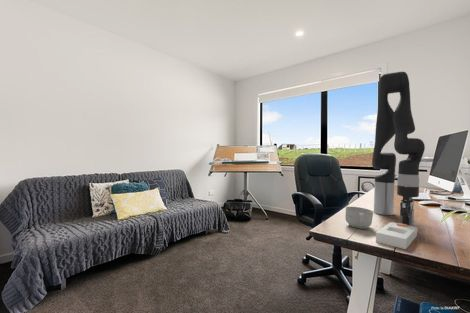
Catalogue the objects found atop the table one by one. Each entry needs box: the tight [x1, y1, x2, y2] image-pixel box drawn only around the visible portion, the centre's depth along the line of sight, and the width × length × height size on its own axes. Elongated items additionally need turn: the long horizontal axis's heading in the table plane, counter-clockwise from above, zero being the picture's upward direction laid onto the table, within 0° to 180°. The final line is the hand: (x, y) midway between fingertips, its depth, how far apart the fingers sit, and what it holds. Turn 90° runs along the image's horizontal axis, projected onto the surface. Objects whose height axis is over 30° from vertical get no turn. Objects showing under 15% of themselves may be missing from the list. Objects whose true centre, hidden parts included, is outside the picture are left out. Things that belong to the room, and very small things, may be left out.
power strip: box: [375, 221, 418, 250], centre depth 90 cm, size 20×9×4 cm, turn 133°
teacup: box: [344, 206, 374, 230], centre depth 103 cm, size 14×11×8 cm
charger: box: [399, 208, 415, 227], centre depth 101 cm, size 4×4×11 cm
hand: (406, 224), depth 101 cm, fingers closed on charger, 4 cm apart
